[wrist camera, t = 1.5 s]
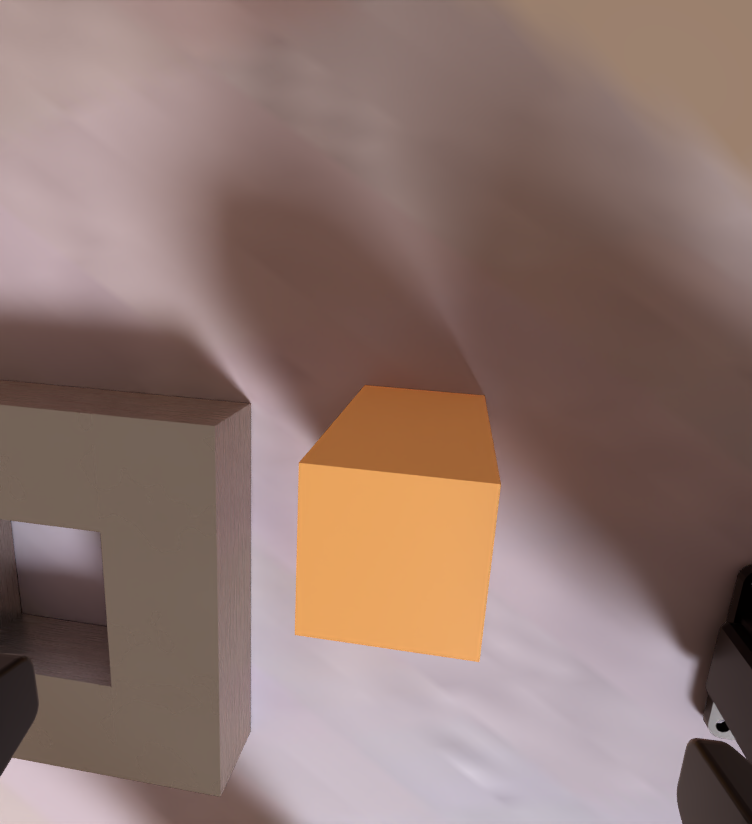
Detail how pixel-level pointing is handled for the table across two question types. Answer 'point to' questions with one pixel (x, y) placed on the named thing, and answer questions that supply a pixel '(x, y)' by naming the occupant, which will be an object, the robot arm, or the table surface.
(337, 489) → the orange rectangular block
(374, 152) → the table surface
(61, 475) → the grey square hole board
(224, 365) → the table surface
